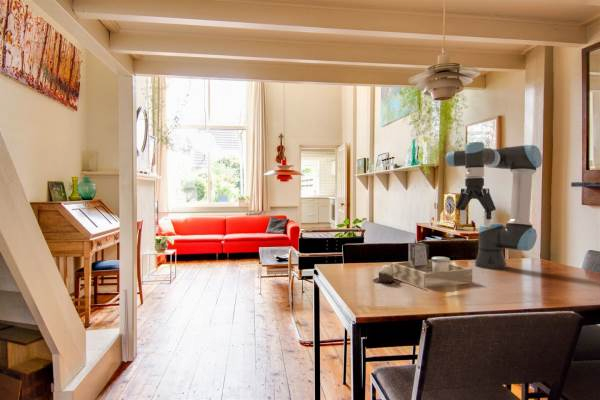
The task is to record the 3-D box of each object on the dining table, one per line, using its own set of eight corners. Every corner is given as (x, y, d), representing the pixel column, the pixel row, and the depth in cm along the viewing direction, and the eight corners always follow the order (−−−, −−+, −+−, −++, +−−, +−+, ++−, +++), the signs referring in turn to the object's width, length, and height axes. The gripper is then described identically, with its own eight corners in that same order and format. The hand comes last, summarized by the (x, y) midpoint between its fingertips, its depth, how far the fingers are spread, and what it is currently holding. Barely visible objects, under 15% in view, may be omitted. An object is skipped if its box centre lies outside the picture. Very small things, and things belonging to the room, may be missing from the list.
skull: (374, 275, 174) (389, 260, 171) (390, 291, 171) (406, 276, 168) (367, 279, 163) (383, 264, 160) (385, 297, 160) (401, 281, 157)
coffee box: (429, 282, 160) (429, 245, 159) (414, 282, 159) (414, 245, 159) (422, 277, 169) (422, 242, 168) (408, 277, 169) (408, 242, 168)
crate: (390, 277, 173) (391, 263, 173) (433, 273, 182) (433, 259, 182) (425, 290, 150) (426, 273, 150) (472, 285, 159) (472, 269, 159)
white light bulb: (428, 276, 170) (428, 257, 170) (441, 275, 173) (441, 256, 173) (439, 280, 163) (439, 260, 163) (453, 278, 166) (453, 258, 166)
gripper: (447, 178, 173) (447, 223, 174) (491, 176, 150) (491, 228, 150) (460, 178, 176) (460, 222, 176) (505, 176, 152) (505, 227, 153)
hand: (474, 225), depth 163 cm, fingers open, 13 cm apart
